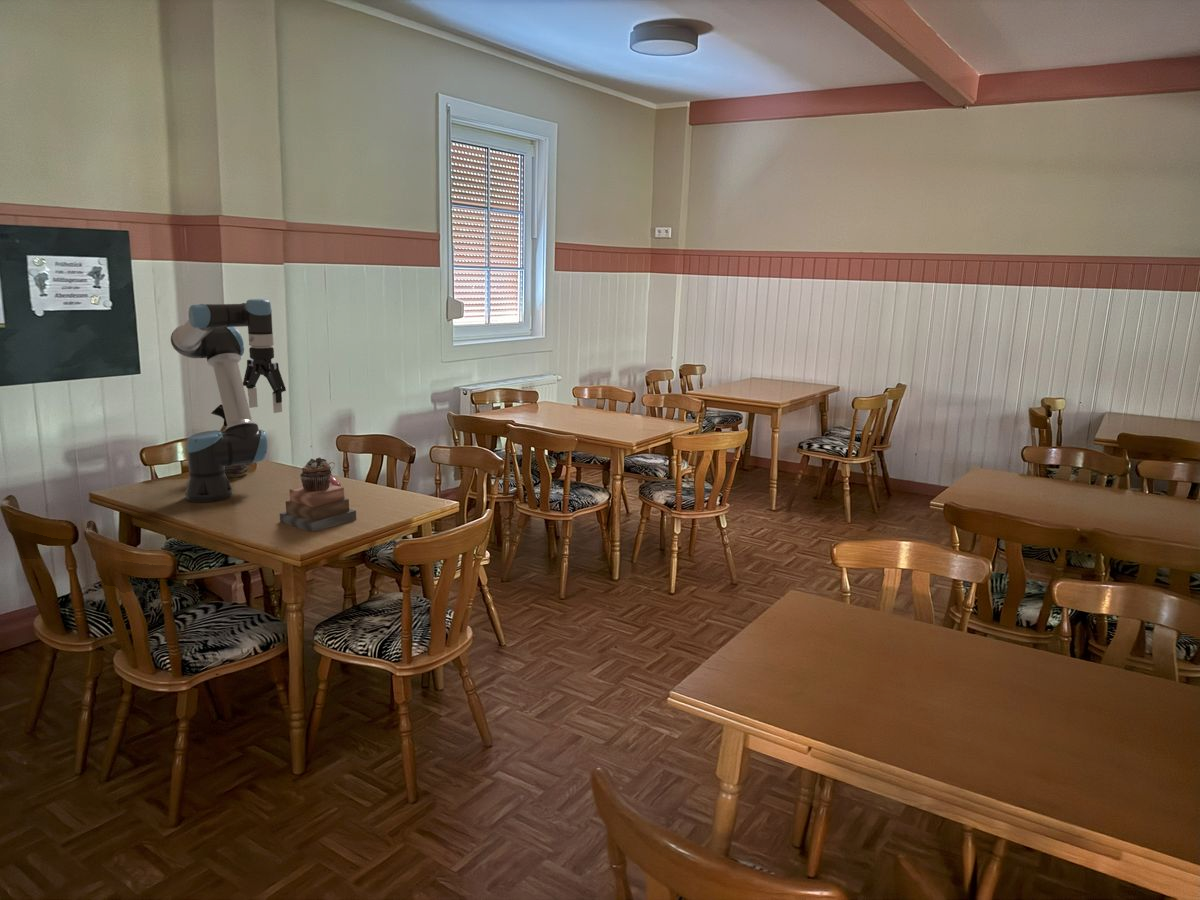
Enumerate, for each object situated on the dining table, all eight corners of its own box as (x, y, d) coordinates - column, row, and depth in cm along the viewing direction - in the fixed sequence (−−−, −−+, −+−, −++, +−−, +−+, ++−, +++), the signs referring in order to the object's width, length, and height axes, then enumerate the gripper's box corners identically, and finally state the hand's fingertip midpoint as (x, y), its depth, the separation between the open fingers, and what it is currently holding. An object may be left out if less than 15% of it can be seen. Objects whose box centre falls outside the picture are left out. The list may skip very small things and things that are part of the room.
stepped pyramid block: (280, 522, 269) (277, 489, 267) (323, 510, 283) (322, 479, 280) (312, 532, 260) (310, 498, 257) (356, 519, 273) (354, 487, 271)
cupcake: (319, 483, 275) (317, 453, 273) (338, 487, 270) (336, 458, 268) (294, 489, 268) (292, 459, 265) (313, 493, 262) (311, 463, 260)
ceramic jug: (208, 480, 319) (201, 404, 312) (217, 471, 333) (211, 397, 327) (254, 479, 322) (248, 403, 316) (262, 469, 337) (256, 397, 330)
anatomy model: (327, 497, 285) (310, 456, 290) (313, 518, 295) (296, 479, 300) (357, 491, 293) (339, 452, 298) (342, 512, 303) (326, 473, 308)
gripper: (229, 344, 277) (233, 406, 282) (274, 350, 263) (278, 415, 268) (249, 342, 283) (253, 403, 288) (294, 349, 269) (298, 412, 274)
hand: (265, 409), depth 278 cm, fingers open, 13 cm apart
